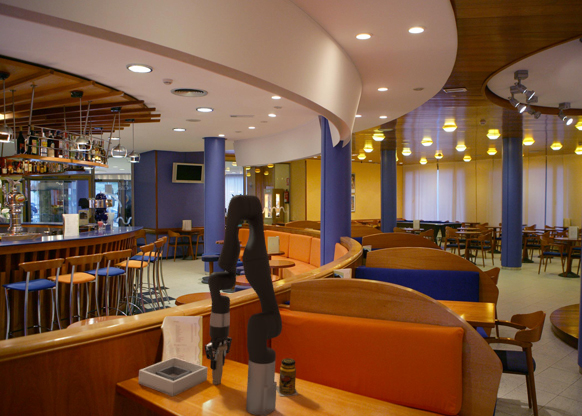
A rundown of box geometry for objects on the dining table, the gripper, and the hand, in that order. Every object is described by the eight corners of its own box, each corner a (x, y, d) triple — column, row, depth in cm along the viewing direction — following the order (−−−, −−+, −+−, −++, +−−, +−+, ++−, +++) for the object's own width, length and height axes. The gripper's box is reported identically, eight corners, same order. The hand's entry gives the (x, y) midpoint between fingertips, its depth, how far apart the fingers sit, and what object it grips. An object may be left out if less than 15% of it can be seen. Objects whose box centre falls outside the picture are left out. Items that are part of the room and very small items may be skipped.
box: (206, 379, 169) (207, 367, 169) (172, 396, 153) (173, 382, 153) (173, 368, 178) (174, 356, 178) (138, 383, 163) (139, 370, 162)
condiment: (280, 396, 158) (282, 364, 158) (274, 386, 166) (276, 356, 166) (299, 395, 160) (301, 363, 160) (292, 385, 168) (294, 355, 168)
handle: (223, 386, 164) (225, 347, 164) (207, 385, 164) (209, 346, 164) (226, 381, 169) (228, 343, 168) (209, 380, 169) (211, 342, 169)
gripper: (215, 329, 158) (212, 375, 158) (238, 321, 170) (236, 364, 170) (199, 325, 162) (197, 370, 162) (224, 317, 174) (221, 359, 174)
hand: (217, 367), depth 166 cm, fingers open, 4 cm apart
